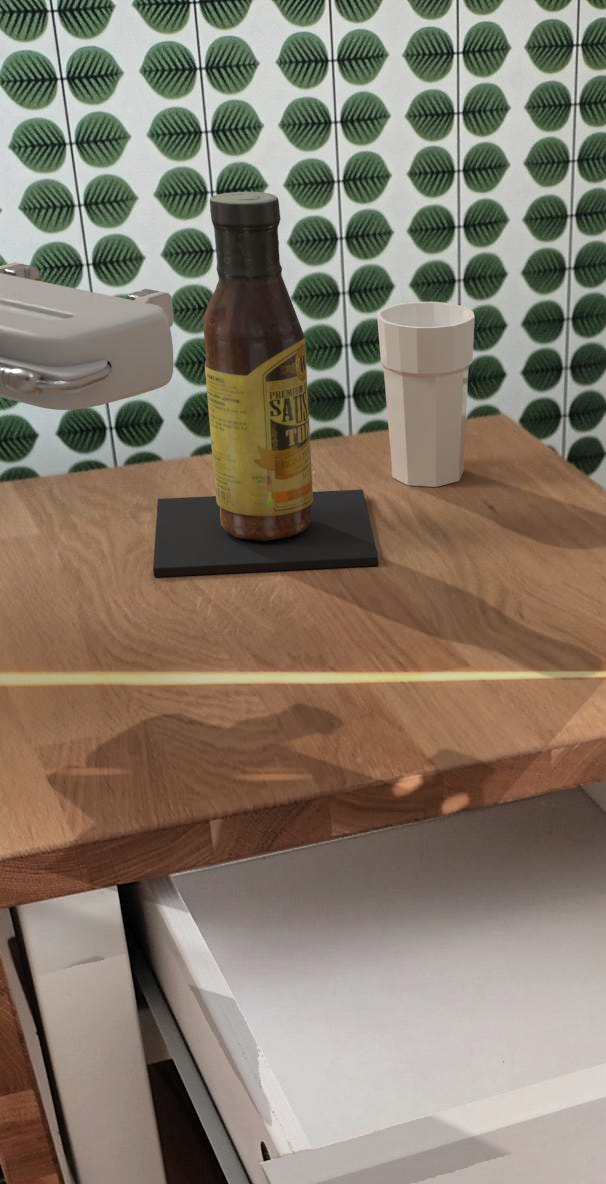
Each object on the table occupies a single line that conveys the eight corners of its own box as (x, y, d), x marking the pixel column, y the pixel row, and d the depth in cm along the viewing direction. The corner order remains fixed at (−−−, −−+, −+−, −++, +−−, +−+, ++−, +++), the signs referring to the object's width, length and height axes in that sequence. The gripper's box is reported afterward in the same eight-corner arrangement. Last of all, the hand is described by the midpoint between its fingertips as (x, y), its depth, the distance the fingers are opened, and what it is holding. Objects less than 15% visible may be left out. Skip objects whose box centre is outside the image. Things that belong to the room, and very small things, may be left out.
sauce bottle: (295, 550, 99) (273, 212, 87) (204, 540, 100) (169, 205, 88) (329, 513, 104) (311, 189, 92) (241, 504, 105) (213, 183, 94)
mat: (154, 577, 97) (152, 568, 97) (158, 506, 106) (157, 498, 106) (378, 565, 99) (378, 556, 98) (363, 497, 108) (362, 489, 108)
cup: (374, 462, 114) (368, 304, 107) (462, 455, 115) (461, 299, 109) (391, 494, 109) (387, 330, 102) (483, 486, 110) (484, 324, 103)
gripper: (42, 320, 68) (243, 258, 78) (-262, 253, 77) (-48, 205, 86) (63, 462, 72) (252, 387, 81) (-230, 384, 80) (-28, 323, 90)
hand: (95, 293), depth 84 cm, fingers open, 8 cm apart
